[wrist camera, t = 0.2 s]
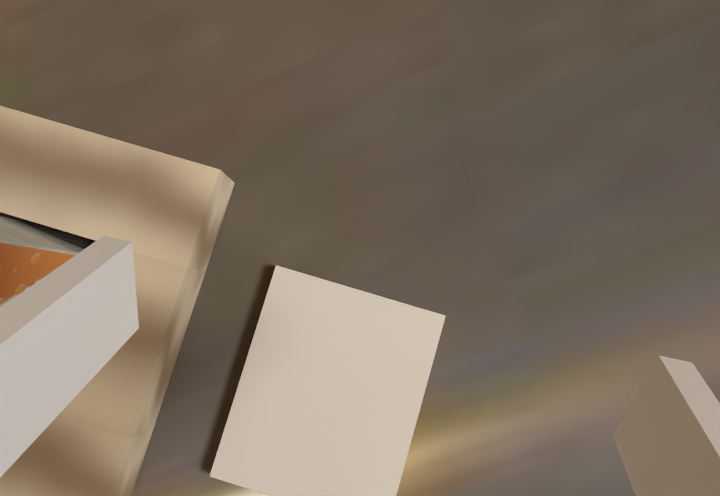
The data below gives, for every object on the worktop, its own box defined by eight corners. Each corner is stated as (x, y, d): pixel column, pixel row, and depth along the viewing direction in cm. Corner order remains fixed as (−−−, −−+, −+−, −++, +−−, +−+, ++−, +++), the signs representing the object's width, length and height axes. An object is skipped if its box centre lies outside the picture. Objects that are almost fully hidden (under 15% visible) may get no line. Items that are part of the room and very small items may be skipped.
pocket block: (122, 521, 27) (93, 549, 24) (-175, 425, 28) (-240, 440, 25) (234, 183, 29) (219, 169, 26) (-45, 101, 30) (-91, 79, 27)
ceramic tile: (385, 525, 27) (385, 532, 26) (214, 471, 27) (209, 476, 26) (443, 315, 28) (445, 315, 27) (278, 266, 28) (275, 265, 28)
